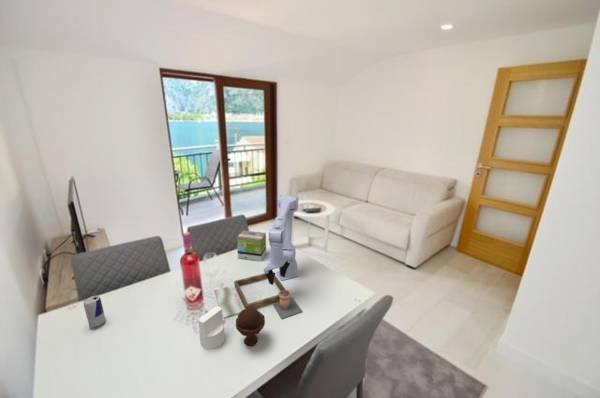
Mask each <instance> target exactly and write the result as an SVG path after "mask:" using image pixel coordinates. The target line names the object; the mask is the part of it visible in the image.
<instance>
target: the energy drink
mask: <svg viewBox="0 0 600 398" xmlns="http://www.w3.org/2000/svg"><path fill="white" fill-rule="evenodd" d="M83 308H84V312H85V315H86V319H87V322H88V326H89V329H92V330H95V329H96V330H97V329H100V328H102V327H103V326H104V325H105V324H106V322H107V319H106V316H105V311H104V307H103V303H102V299H101V297H100V296H99V295H92V296H89V297H87V298H85V299H84V301H83Z"/></svg>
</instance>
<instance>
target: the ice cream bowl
mask: <svg viewBox="0 0 600 398" xmlns="http://www.w3.org/2000/svg"><path fill="white" fill-rule="evenodd" d="M241 310H242V311H241V312H240V313H239V314H238V315H237V318H235V328H236V330H237V331H238V332H239V333H240V334H241V335H242V336H243V337H245V338H244V339H243V344H244V345H245V346H246V347H250V348H251V347H254V346H256V345H257V344H258V342H259V336H257V335H259V334H260V332H261V331H262V330H263V329H264V328H265V324H266V319H265V315H264V314H263V313H261V311H259V310H258V309H253V308H251V309H250V308H247V309H245V308H244V309H241Z"/></svg>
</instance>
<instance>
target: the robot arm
mask: <svg viewBox="0 0 600 398" xmlns="http://www.w3.org/2000/svg"><path fill="white" fill-rule="evenodd" d="M277 206H278V207H279V208H278V209H279V213H278V216H276V217H275V219H274V222H273V225H272V229H269V231H268V241H269V242H268V243H269V247H270V259H269V263H267V265H266V267H264V268H263V274H264V273H265V274H266V276H267V278H268V279H267V281H268V284H270V285H271V286H272V285H275V283H274V276H276V275H277V277H278V278H279V279H280V280H281V281H285V280H288V279H289V280H290V279H292V278H296V277H298V262H297V259H296V253H297V252H296V246H295V245H294V244H293V243H292V233H293V232H292V231H293V221H294V220H293V219H294V214H295V213H296V212H297V211H298V207H299V197H298V196H297V195H283V194H279V195H278V197H277ZM276 269H278V271H276V272H274V270H276Z"/></svg>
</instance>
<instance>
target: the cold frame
mask: <svg viewBox="0 0 600 398" xmlns="http://www.w3.org/2000/svg"><path fill="white" fill-rule="evenodd" d="M278 278H279V277H278V276H276V275H275V276H274V285H275V286H276V288H277V289H278V290H279V292H280V291H282V290H287V289H286V288H285V287H284V285H283V284H282V283H281V281H280V280H279V279H278ZM264 280H268V278H267V276H266V274H265V273H264V272H263V273H261V274H257V275H253V276H249V277H246V278H242V279H240V278H239V279H238V280H235V281H234V282H233V283H234V285H233V286H234V288H235V291H236V292H237V295H238V297H239V299H240V301H241V303H242V305H243V307H244V309H247V308H250V309H251V308H253V309H256V310H258V309H261V308H264V307H266V306H269V305H273V304H274V303H277V302H280V297H279V294H276V295H273V296H270V297H266V298H263V299H262V298H261V299H260V300H255V301H253V302H250V303H248V301H247V299H246V297H245V295H244V292H243V290H242V289H241V287H243V286H246V285H250V284H255V283H258V282H261V281H264ZM214 294H215V297H216V299H217V304H218V306H219V307H221V308H222V316H223V320H224V319H227V318H228V319H229V318H231V317H235V316H238V315H239V313H240V312H241V311H242V310H243V309H241V305H240V304H239V301H238V299H237V297H236V296H237V295H235V292H234V290H233V288H232V286H231V285H230V286H226V287H222V288H219V289H215V290H214Z"/></svg>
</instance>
